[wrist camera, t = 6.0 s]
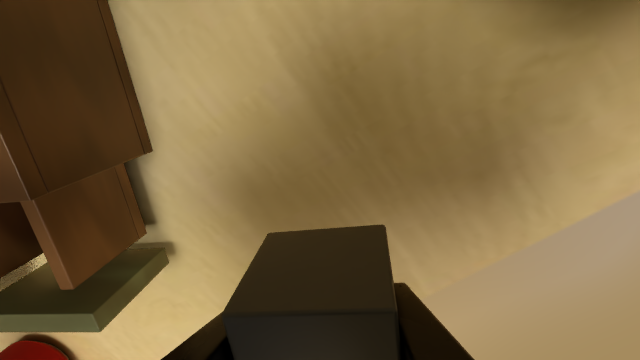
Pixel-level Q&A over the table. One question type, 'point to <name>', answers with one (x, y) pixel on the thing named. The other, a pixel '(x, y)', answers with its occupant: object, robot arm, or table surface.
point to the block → (316, 298)
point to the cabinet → (63, 97)
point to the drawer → (75, 256)
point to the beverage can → (32, 351)
